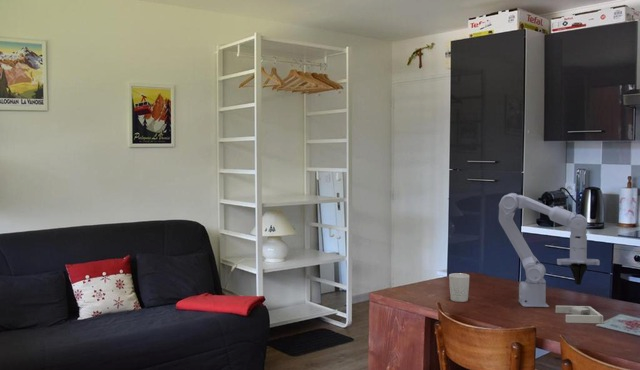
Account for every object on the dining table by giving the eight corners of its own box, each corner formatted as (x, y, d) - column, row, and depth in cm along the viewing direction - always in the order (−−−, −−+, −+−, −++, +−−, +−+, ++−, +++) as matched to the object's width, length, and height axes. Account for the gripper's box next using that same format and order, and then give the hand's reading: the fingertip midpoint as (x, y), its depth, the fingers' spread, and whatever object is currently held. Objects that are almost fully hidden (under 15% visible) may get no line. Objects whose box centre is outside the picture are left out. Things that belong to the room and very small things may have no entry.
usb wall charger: (580, 321, 198) (580, 310, 198) (566, 316, 205) (566, 305, 205) (590, 320, 199) (590, 309, 199) (575, 315, 206) (576, 304, 206)
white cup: (457, 303, 224) (456, 277, 224) (445, 298, 231) (445, 274, 231) (473, 301, 227) (473, 276, 227) (461, 296, 234) (461, 272, 234)
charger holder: (566, 322, 197) (566, 315, 197) (555, 312, 210) (555, 305, 210) (603, 323, 196) (603, 316, 196) (589, 313, 209) (590, 306, 208)
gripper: (560, 249, 210) (560, 286, 211) (602, 249, 208) (602, 286, 209) (555, 246, 217) (555, 281, 218) (595, 246, 215) (595, 282, 216)
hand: (577, 284), depth 214 cm, fingers closed
